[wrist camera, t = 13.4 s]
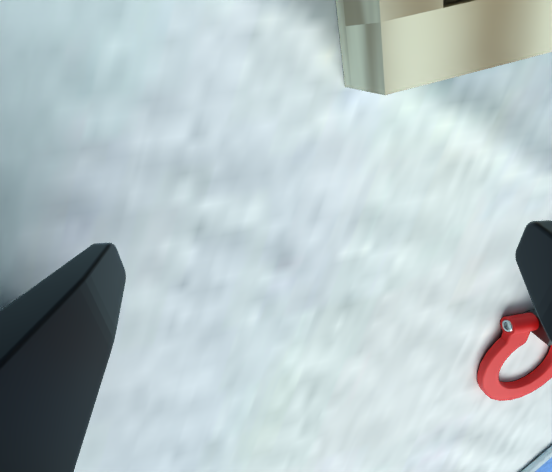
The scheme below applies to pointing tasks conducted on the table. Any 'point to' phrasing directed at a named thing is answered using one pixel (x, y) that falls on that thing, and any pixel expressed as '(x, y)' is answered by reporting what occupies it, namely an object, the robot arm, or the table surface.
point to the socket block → (436, 39)
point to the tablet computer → (541, 462)
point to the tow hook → (510, 340)
